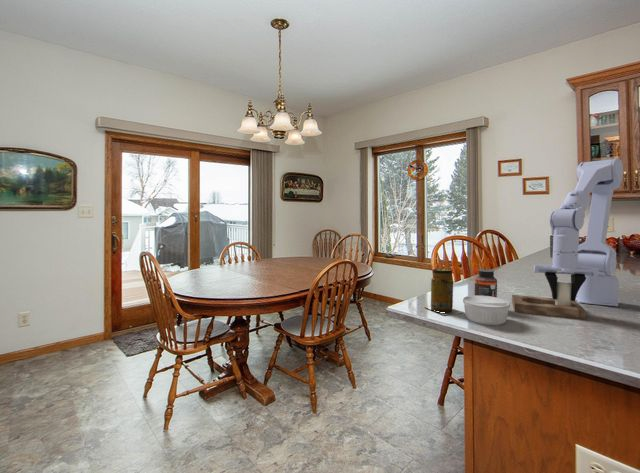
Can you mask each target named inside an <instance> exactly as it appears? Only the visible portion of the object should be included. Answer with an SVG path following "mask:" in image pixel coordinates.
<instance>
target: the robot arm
mask: <svg viewBox="0 0 640 473" xmlns="http://www.w3.org/2000/svg"><path fill="white" fill-rule="evenodd" d="M623 166H624V165H623V162H622V160H621V159H620V158H619V157H615V158H610V159H602V160H593V161H582V162H580V163H579V164H578V166H577V168H576V177H577V179H578V181H577V184H576V185H575V189H574V190H571V191H570V192H568V193H567V195H566V196H565V198H564V200H563V201H562V204H561V205H560V206H559V208H558V209H555V210H554V211H552V212H551V214H550V217H549V225H550V228H551V230H550V231H551V235H552V236H553V241H552V242H553V243H552V265H545V264H544V265H539V264H538V265H536V264H534V265H533V273H534V274H541V273H542V274H544V276H545V278H546V280H547V282H548V285H549V288H550V292H551V298H553V299H557V282H558V278H559V277H558V276H557V274H558V275H559V274H560V275H570V283H572V292H571V300H572V301H576V302H577V303H578V304H579V303H580V304H591V305H598V306H599V305H602V306H609V307H610V306H612V307H619V285H620V284H619V279H618V277H617V276H616V275H614V273H615V271H616V268H617V263H618V262H617V251H616V250H615V248H614V247H611V246H610V245H609V244H608V243H606V242H607V234H608V229H609V228H608V227H609V220H610V212H611V206H612V200H613V199H612V198H613V194H614V191H615V190H617V189H618V188H619V189H620V188H621V184H622V182H623V174H624V167H623ZM590 194H591V195H590ZM589 205H590V207H589ZM588 207H589V208H590V209H589V214H588V215H589V216H588V222H587V227H586V228H587V230H586V236H585V241H584V242H582V243H580V242H579V241H580V230H581V229H582V228H583V227H584V224H585V218H586V210H587V209H588Z"/></svg>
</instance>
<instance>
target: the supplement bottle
mask: <svg viewBox="0 0 640 473" xmlns="http://www.w3.org/2000/svg"><path fill="white" fill-rule="evenodd" d="M476 295H478V296H491V297H497V298H498V279H497V278H496V277H495V272H494V270H492V269H486V268H485V269H484V268H483V269H482V268H481V269H478V276H475V278H474V296H476Z"/></svg>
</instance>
